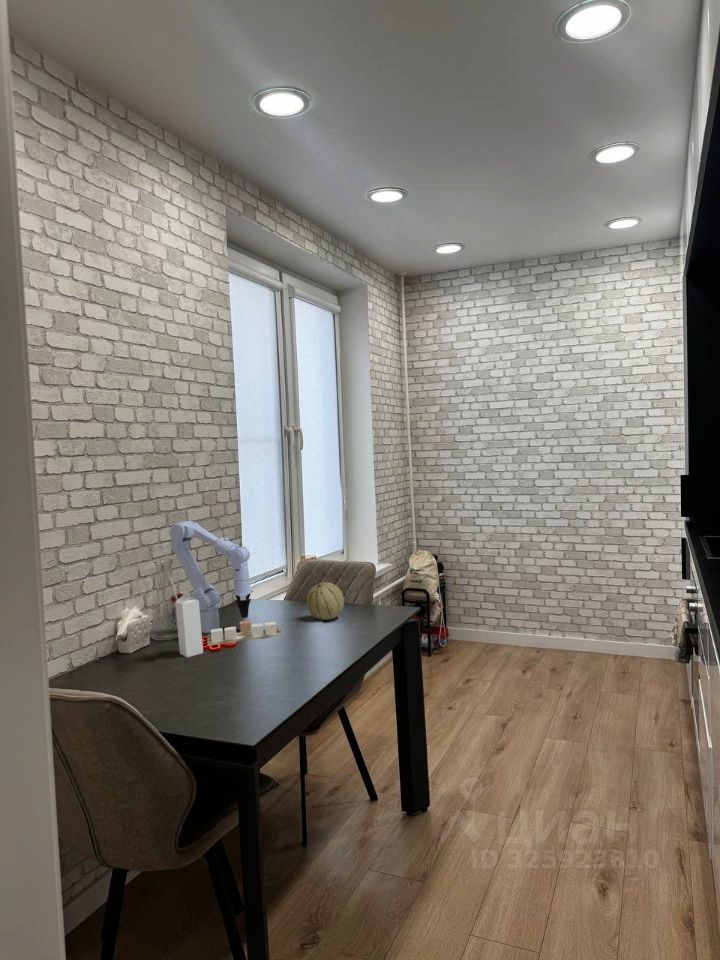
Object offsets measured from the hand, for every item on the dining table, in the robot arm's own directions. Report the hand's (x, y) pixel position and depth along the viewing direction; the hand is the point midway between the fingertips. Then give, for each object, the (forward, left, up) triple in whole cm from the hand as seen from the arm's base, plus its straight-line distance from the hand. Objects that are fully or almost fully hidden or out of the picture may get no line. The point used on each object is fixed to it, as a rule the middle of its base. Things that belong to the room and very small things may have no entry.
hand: (244, 615), depth 254 cm
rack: (+3, -10, -7) cm, 12 cm away
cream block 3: (+7, -8, -6) cm, 13 cm away
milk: (-10, -27, -7) cm, 30 cm away
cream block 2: (-2, -12, -6) cm, 13 cm away
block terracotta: (0, 0, -7) cm, 7 cm away
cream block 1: (-6, -13, -6) cm, 16 cm away
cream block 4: (+12, -7, -6) cm, 15 cm away
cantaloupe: (+28, +15, -7) cm, 32 cm away
